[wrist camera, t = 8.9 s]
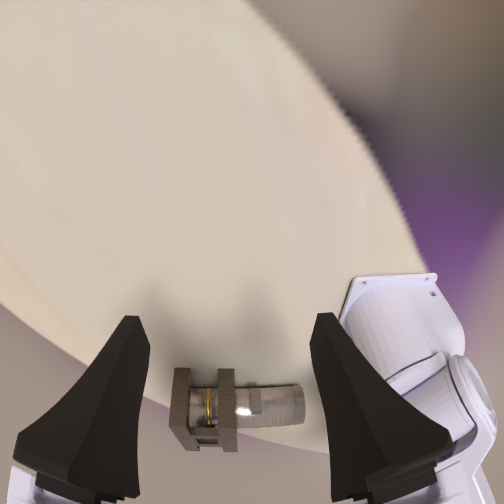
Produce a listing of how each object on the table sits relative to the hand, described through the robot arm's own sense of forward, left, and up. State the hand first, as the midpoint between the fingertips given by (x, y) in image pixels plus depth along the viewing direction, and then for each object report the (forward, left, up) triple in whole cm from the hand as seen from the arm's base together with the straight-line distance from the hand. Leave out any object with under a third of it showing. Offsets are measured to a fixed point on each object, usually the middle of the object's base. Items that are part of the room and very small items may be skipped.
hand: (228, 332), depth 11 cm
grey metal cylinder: (-1, +25, -10) cm, 27 cm away
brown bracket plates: (+3, +25, -10) cm, 27 cm away
